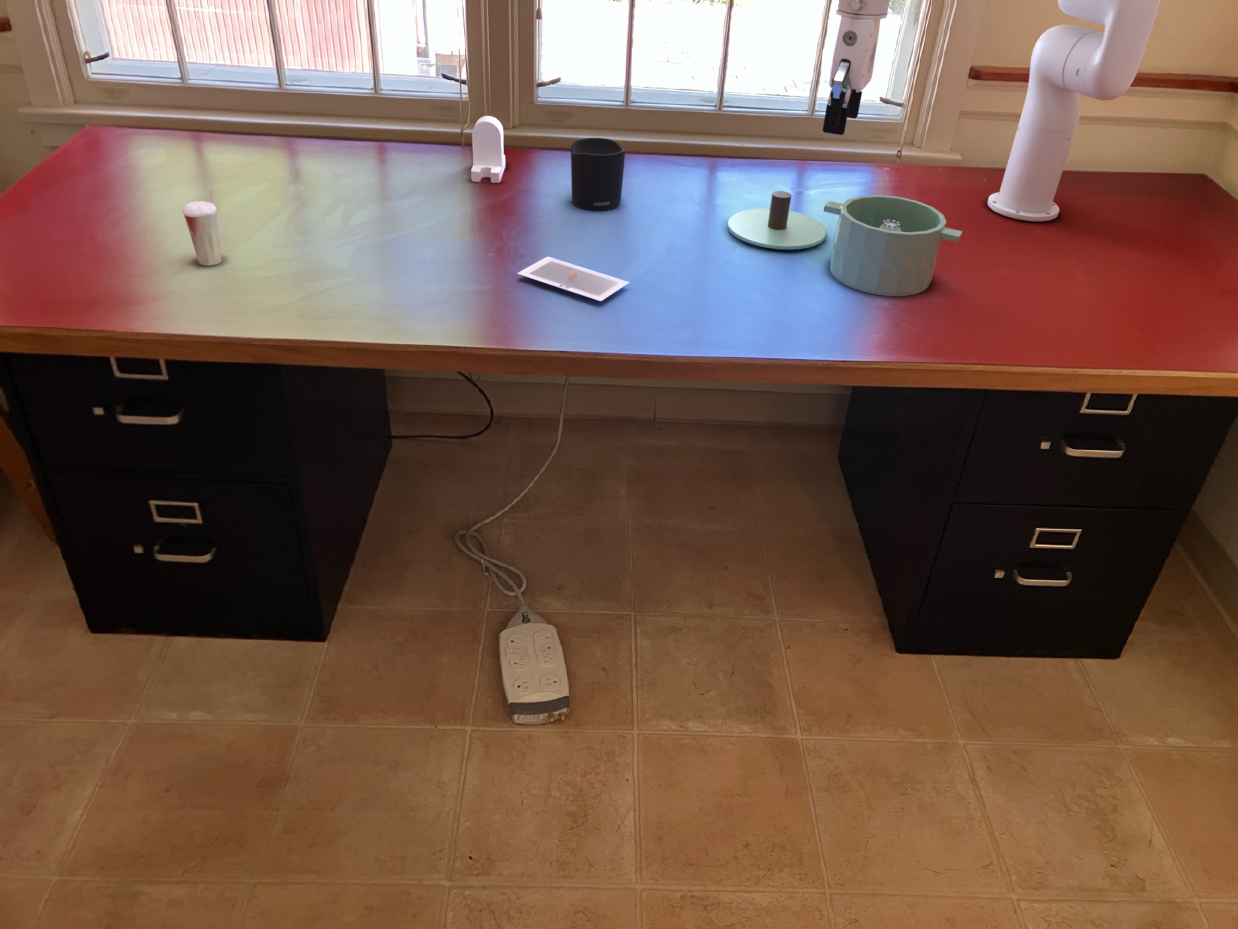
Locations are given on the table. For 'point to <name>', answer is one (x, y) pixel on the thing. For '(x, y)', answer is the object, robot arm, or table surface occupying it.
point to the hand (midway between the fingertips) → (840, 124)
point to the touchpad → (574, 278)
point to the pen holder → (597, 173)
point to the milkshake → (203, 230)
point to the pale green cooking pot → (887, 244)
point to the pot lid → (777, 226)
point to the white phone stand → (488, 150)
